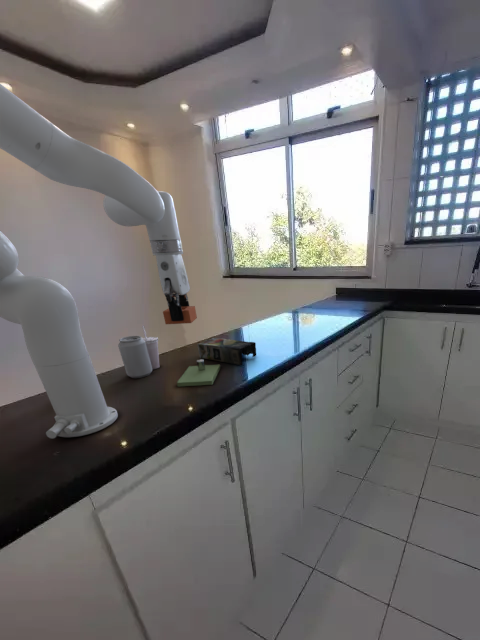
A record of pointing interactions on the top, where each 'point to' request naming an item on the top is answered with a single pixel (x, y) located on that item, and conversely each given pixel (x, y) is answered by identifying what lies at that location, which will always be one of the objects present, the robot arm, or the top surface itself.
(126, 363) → the can
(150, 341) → the smoothie
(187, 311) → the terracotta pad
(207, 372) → the base pad
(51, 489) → the top surface
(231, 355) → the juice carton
